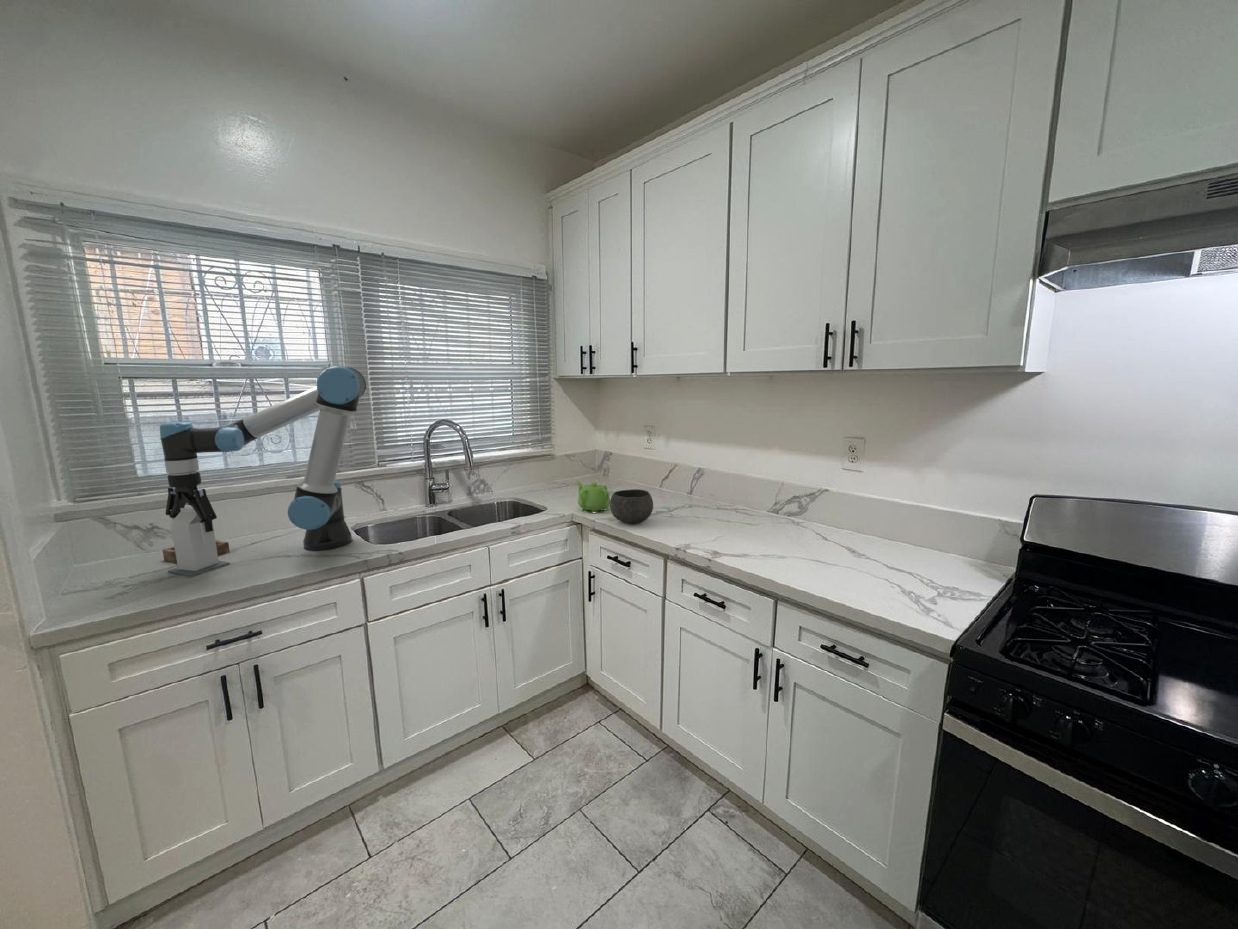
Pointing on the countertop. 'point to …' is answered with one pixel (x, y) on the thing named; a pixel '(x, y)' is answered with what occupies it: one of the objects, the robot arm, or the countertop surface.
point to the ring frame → (220, 545)
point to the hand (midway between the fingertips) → (194, 539)
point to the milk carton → (192, 542)
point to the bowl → (631, 505)
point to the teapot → (593, 497)
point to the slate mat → (194, 573)
